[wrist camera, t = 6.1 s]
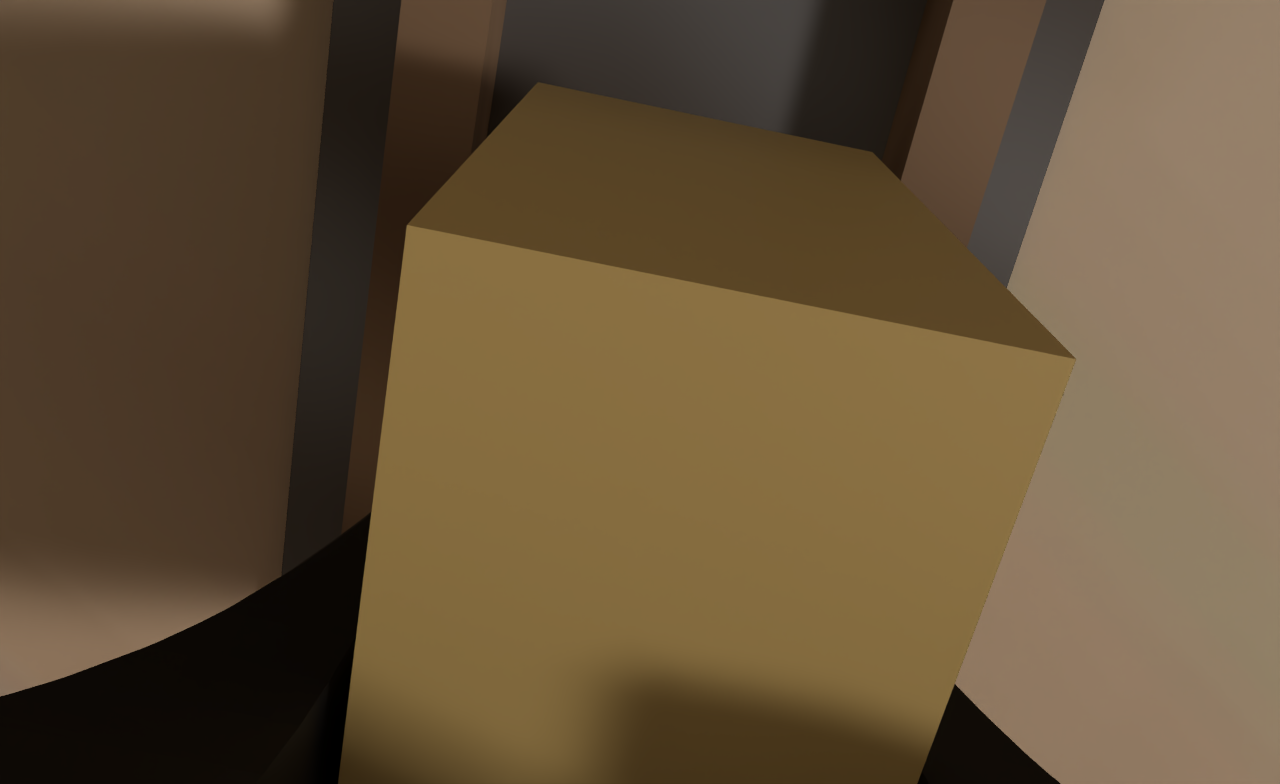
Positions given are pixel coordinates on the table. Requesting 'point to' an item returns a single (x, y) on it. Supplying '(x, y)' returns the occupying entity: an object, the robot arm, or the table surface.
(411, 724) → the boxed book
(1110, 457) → the table surface
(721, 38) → the shelf
